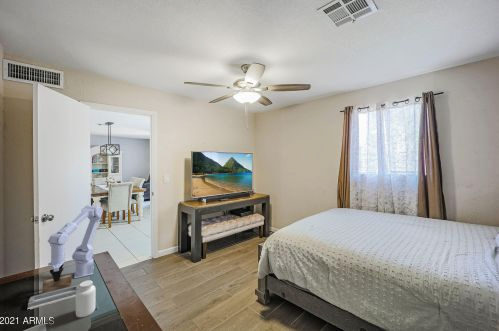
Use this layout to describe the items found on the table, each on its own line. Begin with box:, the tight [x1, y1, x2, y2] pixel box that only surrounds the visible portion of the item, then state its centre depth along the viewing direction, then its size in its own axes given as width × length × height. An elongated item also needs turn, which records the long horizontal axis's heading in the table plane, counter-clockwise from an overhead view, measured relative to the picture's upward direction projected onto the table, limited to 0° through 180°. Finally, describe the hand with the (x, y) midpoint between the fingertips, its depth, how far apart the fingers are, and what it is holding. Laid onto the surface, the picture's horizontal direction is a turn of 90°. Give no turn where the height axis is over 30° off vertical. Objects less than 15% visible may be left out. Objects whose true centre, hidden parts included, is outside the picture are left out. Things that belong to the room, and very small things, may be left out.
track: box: [27, 283, 81, 310], centre depth 114 cm, size 20×8×3 cm, turn 128°
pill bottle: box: [75, 279, 97, 318], centre depth 106 cm, size 8×8×15 cm
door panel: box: [42, 273, 73, 294], centre depth 120 cm, size 12×2×7 cm, turn 128°
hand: (57, 277), depth 120 cm, fingers open, 7 cm apart
